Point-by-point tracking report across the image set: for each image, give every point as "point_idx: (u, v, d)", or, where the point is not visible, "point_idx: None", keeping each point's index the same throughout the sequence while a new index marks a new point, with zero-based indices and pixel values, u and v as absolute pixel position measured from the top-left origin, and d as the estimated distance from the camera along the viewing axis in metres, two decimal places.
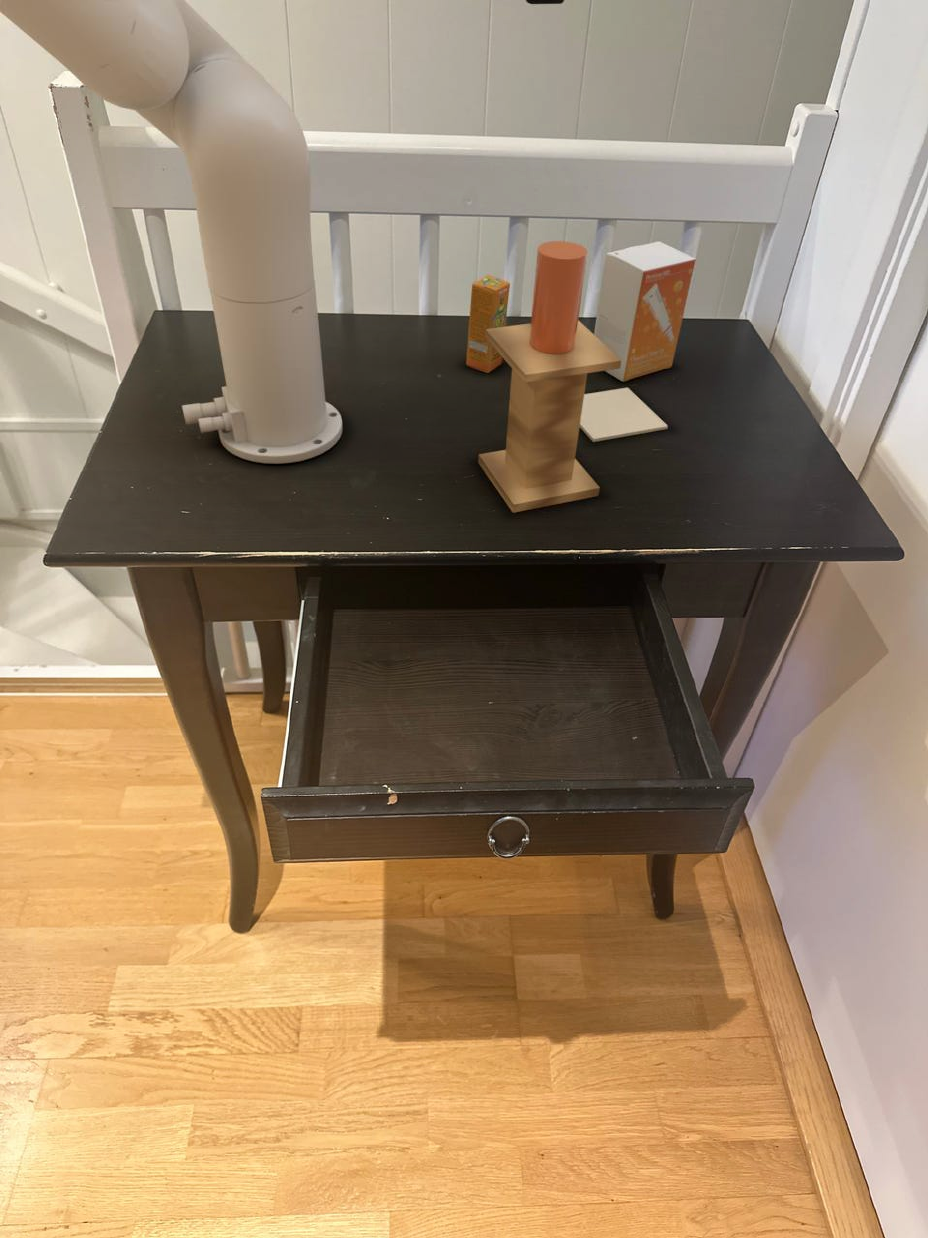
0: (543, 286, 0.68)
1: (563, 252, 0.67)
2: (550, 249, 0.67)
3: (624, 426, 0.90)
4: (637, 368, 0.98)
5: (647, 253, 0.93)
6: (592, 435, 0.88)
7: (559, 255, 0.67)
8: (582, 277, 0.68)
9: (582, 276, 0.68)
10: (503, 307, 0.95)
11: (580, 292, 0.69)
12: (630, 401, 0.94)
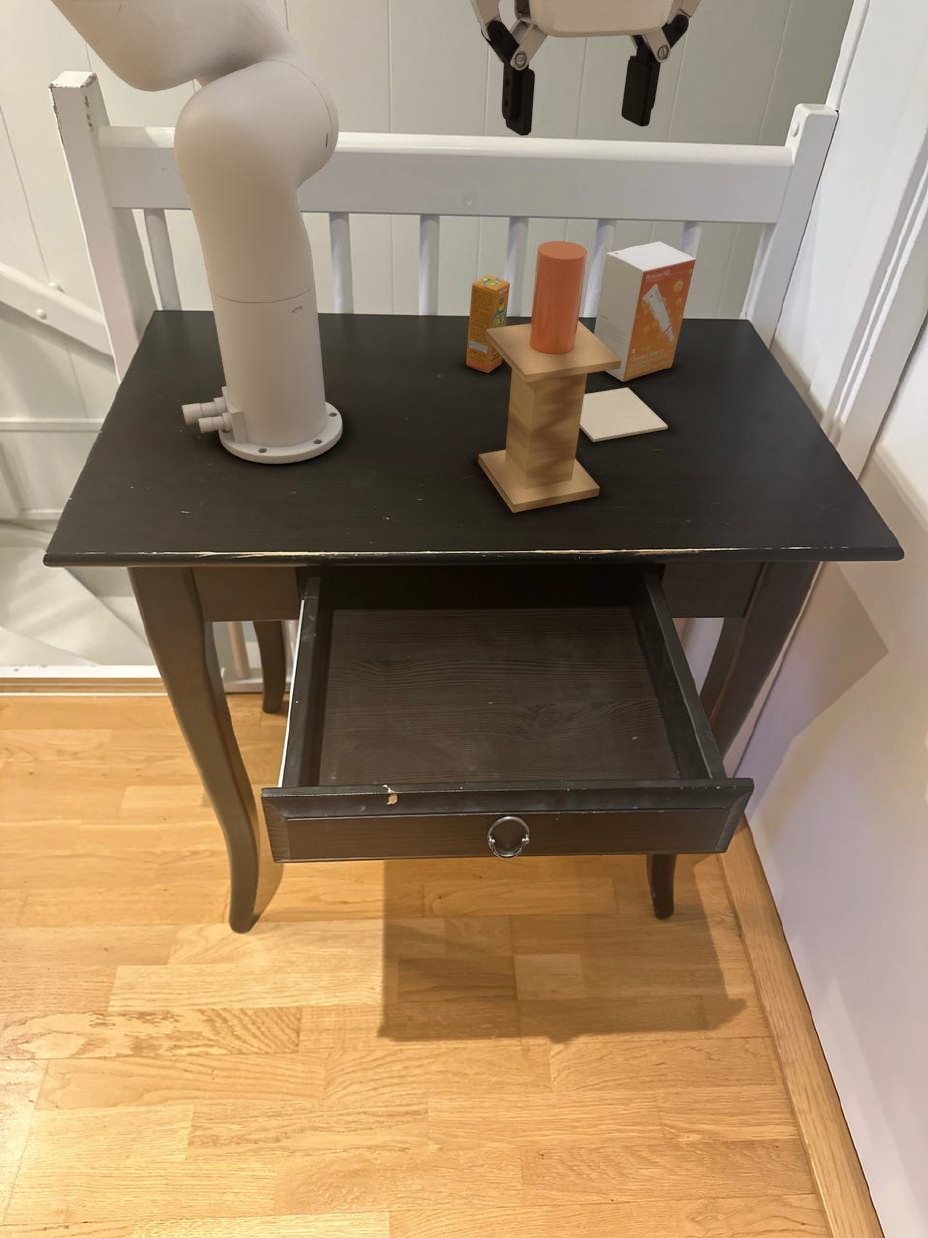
0: (543, 286, 0.68)
1: (563, 252, 0.67)
2: (550, 249, 0.67)
3: (624, 426, 0.90)
4: (637, 368, 0.98)
5: (647, 253, 0.93)
6: (592, 435, 0.88)
7: (559, 255, 0.67)
8: (582, 277, 0.68)
9: (582, 276, 0.68)
10: (503, 307, 0.95)
11: (580, 292, 0.69)
12: (630, 401, 0.94)
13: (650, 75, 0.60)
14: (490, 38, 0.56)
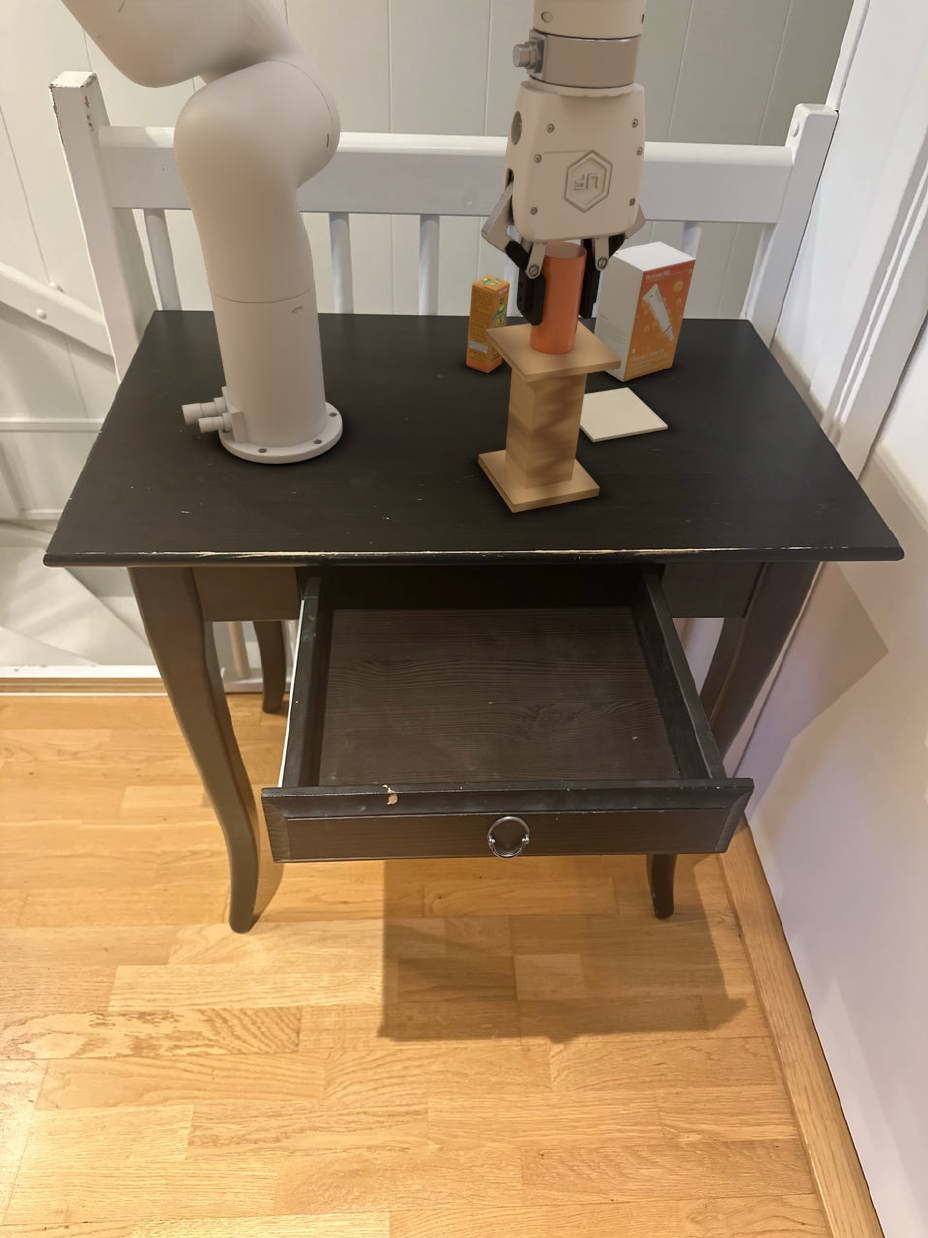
0: None
1: (563, 252, 0.67)
2: (550, 249, 0.67)
3: (624, 426, 0.90)
4: (637, 368, 0.98)
5: (647, 253, 0.93)
6: (592, 435, 0.88)
7: (560, 255, 0.67)
8: (582, 277, 0.68)
9: (582, 276, 0.68)
10: (503, 307, 0.95)
11: (580, 292, 0.69)
12: (630, 401, 0.94)
13: (591, 281, 0.69)
14: (511, 257, 0.66)
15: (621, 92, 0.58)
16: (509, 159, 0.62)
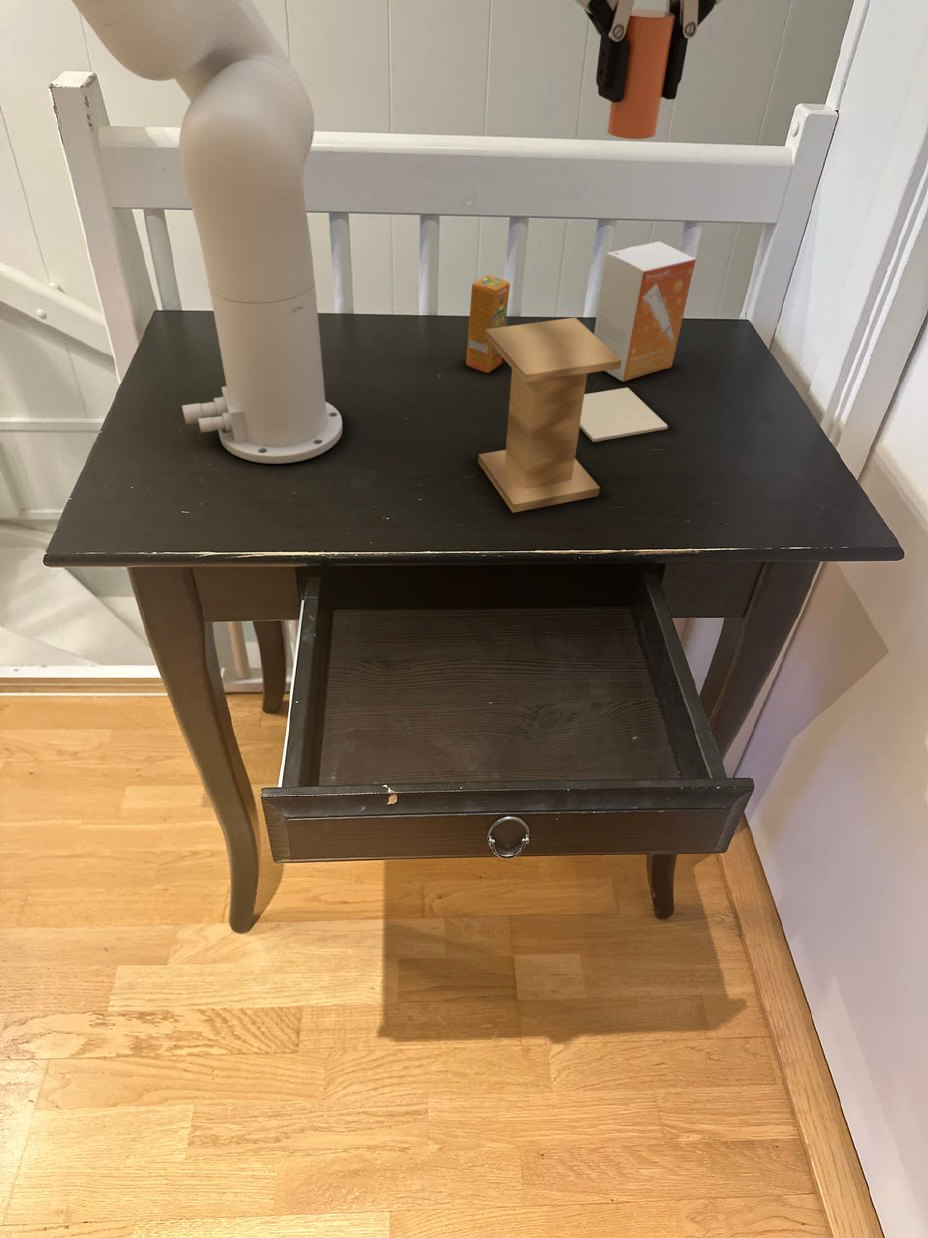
0: None
1: (649, 14, 0.63)
2: (635, 12, 0.63)
3: (624, 426, 0.90)
4: (637, 368, 0.98)
5: (647, 253, 0.93)
6: (592, 435, 0.88)
7: (646, 15, 0.62)
8: (668, 45, 0.64)
9: (668, 43, 0.64)
10: (503, 307, 0.95)
11: (665, 64, 0.65)
12: (630, 401, 0.94)
13: (678, 51, 0.64)
14: (594, 14, 0.62)
15: None
16: None
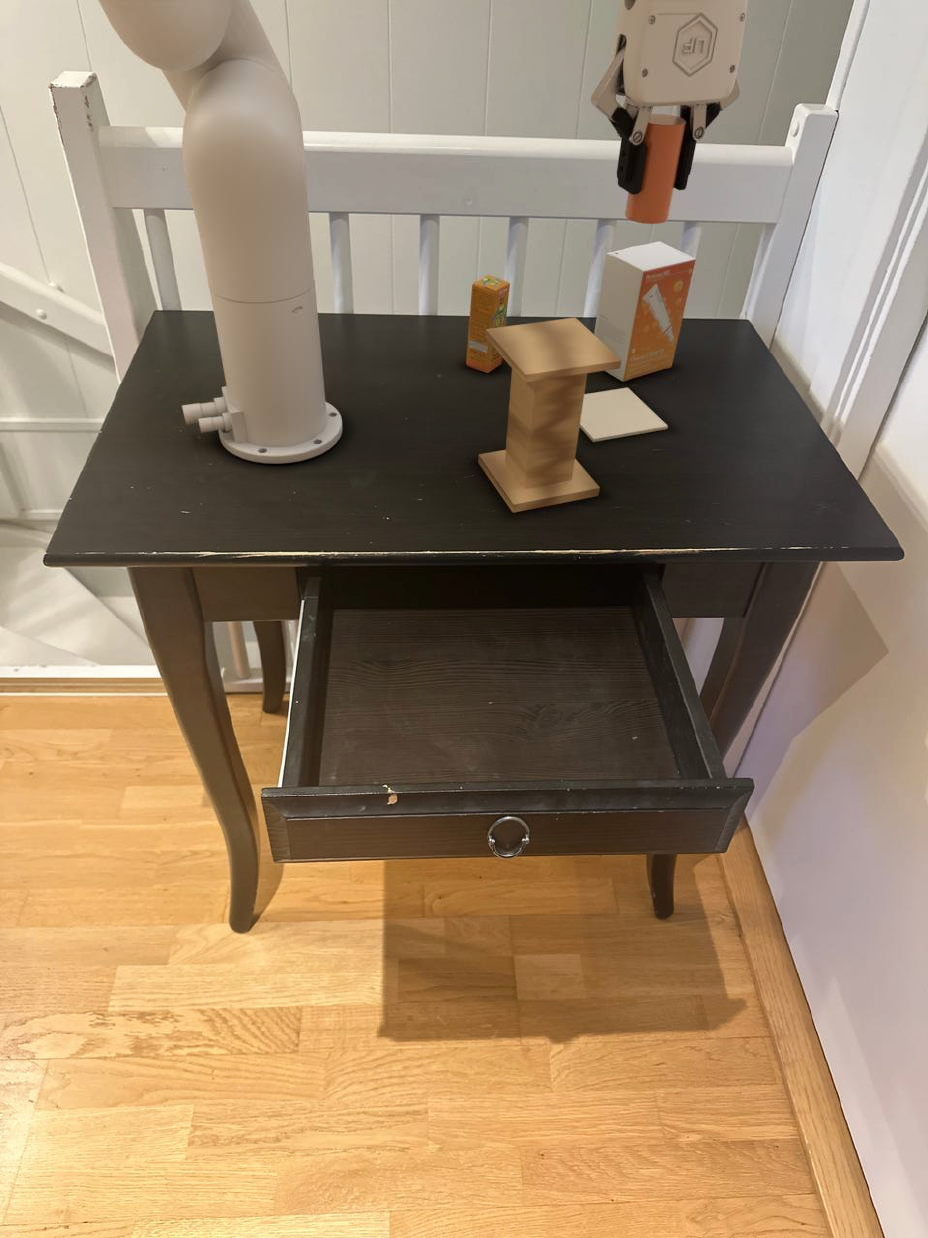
0: None
1: (664, 121, 0.72)
2: (652, 119, 0.73)
3: (624, 426, 0.90)
4: (637, 368, 0.98)
5: (647, 253, 0.93)
6: (592, 435, 0.88)
7: (662, 122, 0.72)
8: (680, 146, 0.73)
9: (680, 145, 0.73)
10: (503, 307, 0.95)
11: (677, 161, 0.74)
12: (630, 401, 0.94)
13: (688, 151, 0.74)
14: (617, 123, 0.71)
15: None
16: (622, 25, 0.67)
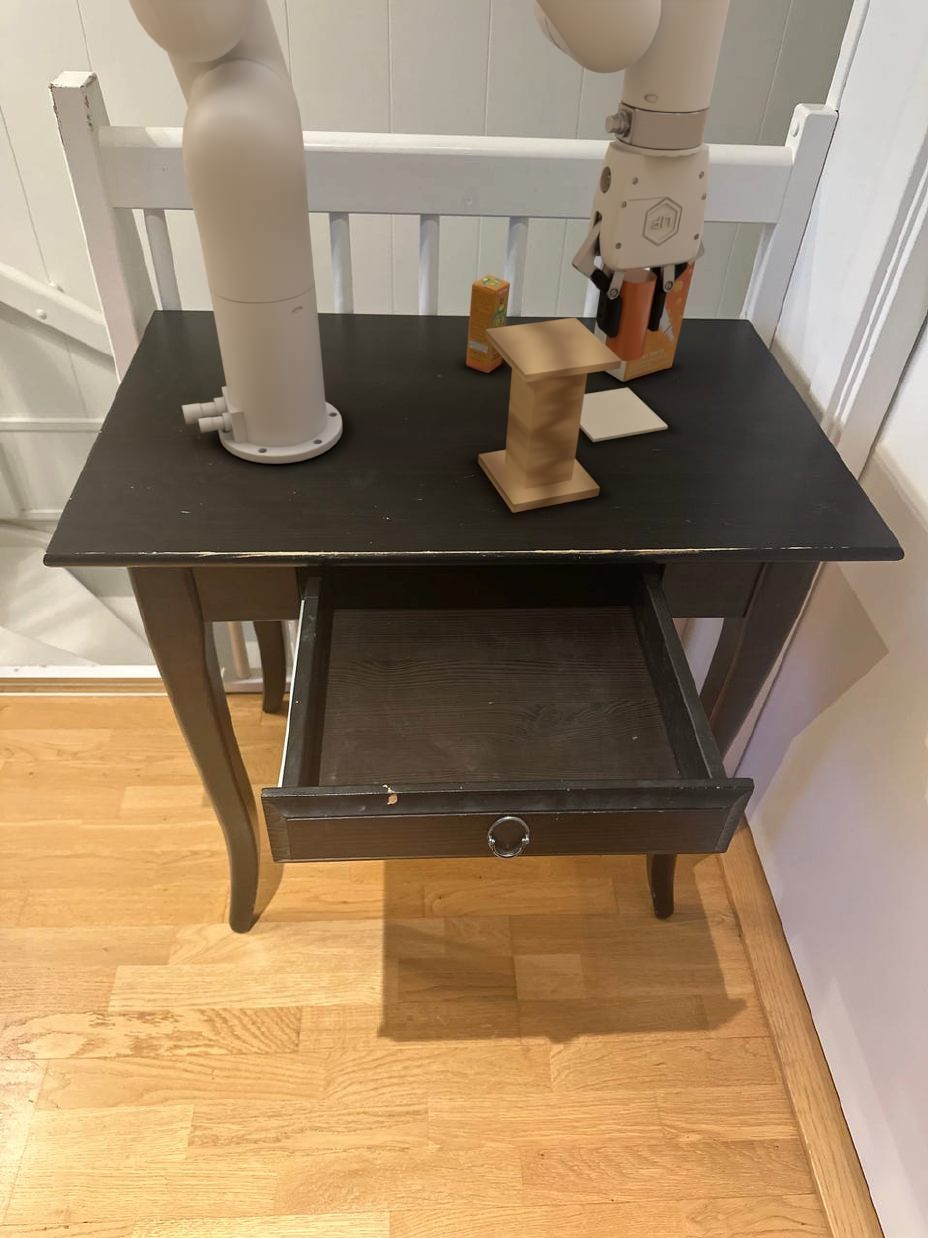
0: None
1: (637, 277, 0.81)
2: (626, 275, 0.82)
3: (624, 426, 0.90)
4: (637, 368, 0.98)
5: None
6: (592, 435, 0.88)
7: (635, 279, 0.81)
8: (652, 297, 0.83)
9: (652, 297, 0.82)
10: (503, 307, 0.95)
11: (650, 310, 0.83)
12: (630, 401, 0.94)
13: (659, 301, 0.83)
14: (595, 282, 0.80)
15: (692, 152, 0.72)
16: (598, 204, 0.76)
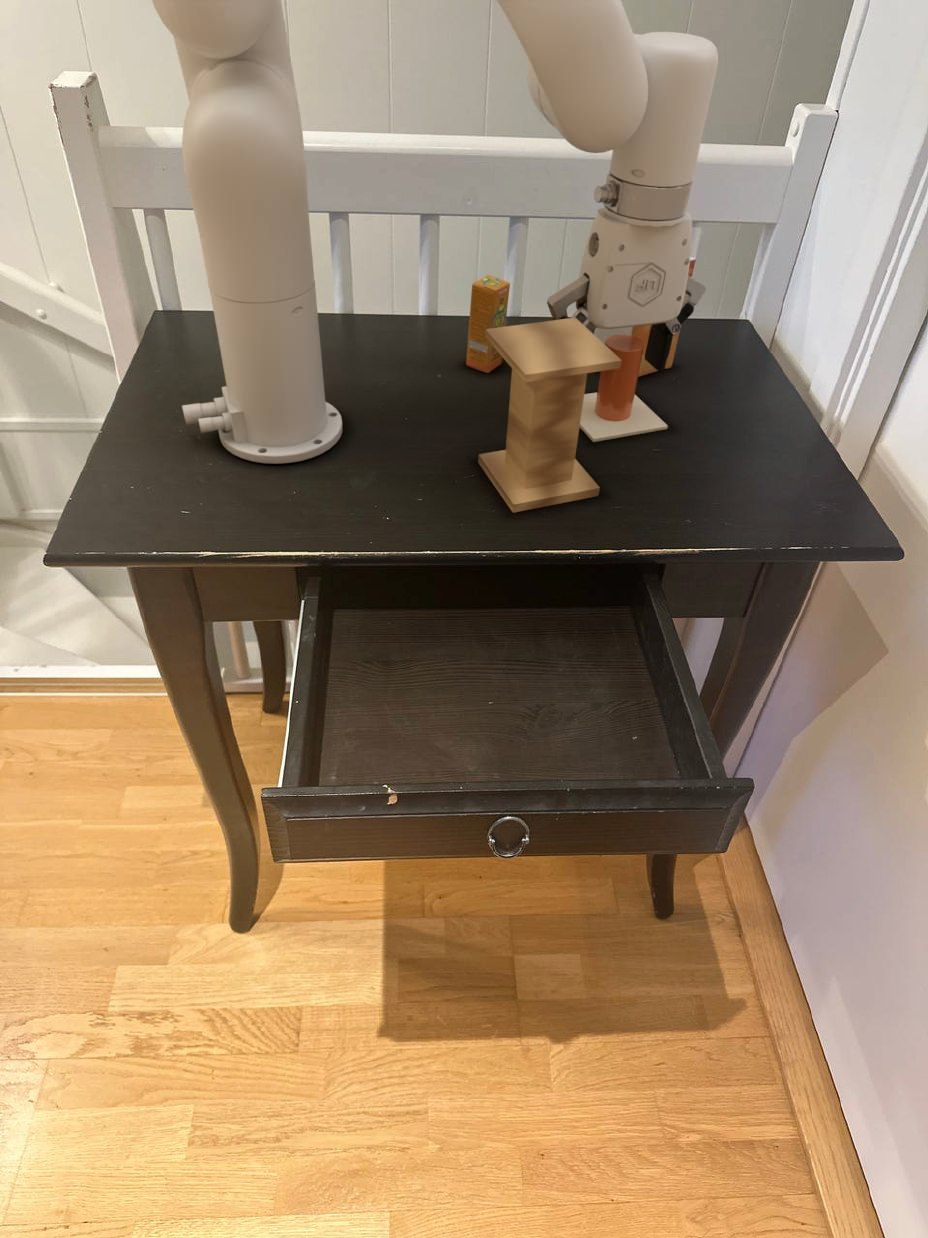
0: (609, 370, 0.87)
1: (625, 345, 0.86)
2: (615, 343, 0.86)
3: (624, 426, 0.90)
4: None
5: None
6: (592, 435, 0.88)
7: (623, 347, 0.86)
8: (639, 363, 0.87)
9: (639, 363, 0.87)
10: (503, 307, 0.95)
11: (637, 374, 0.88)
12: None
13: (666, 342, 0.87)
14: None
15: (676, 222, 0.76)
16: (586, 266, 0.80)
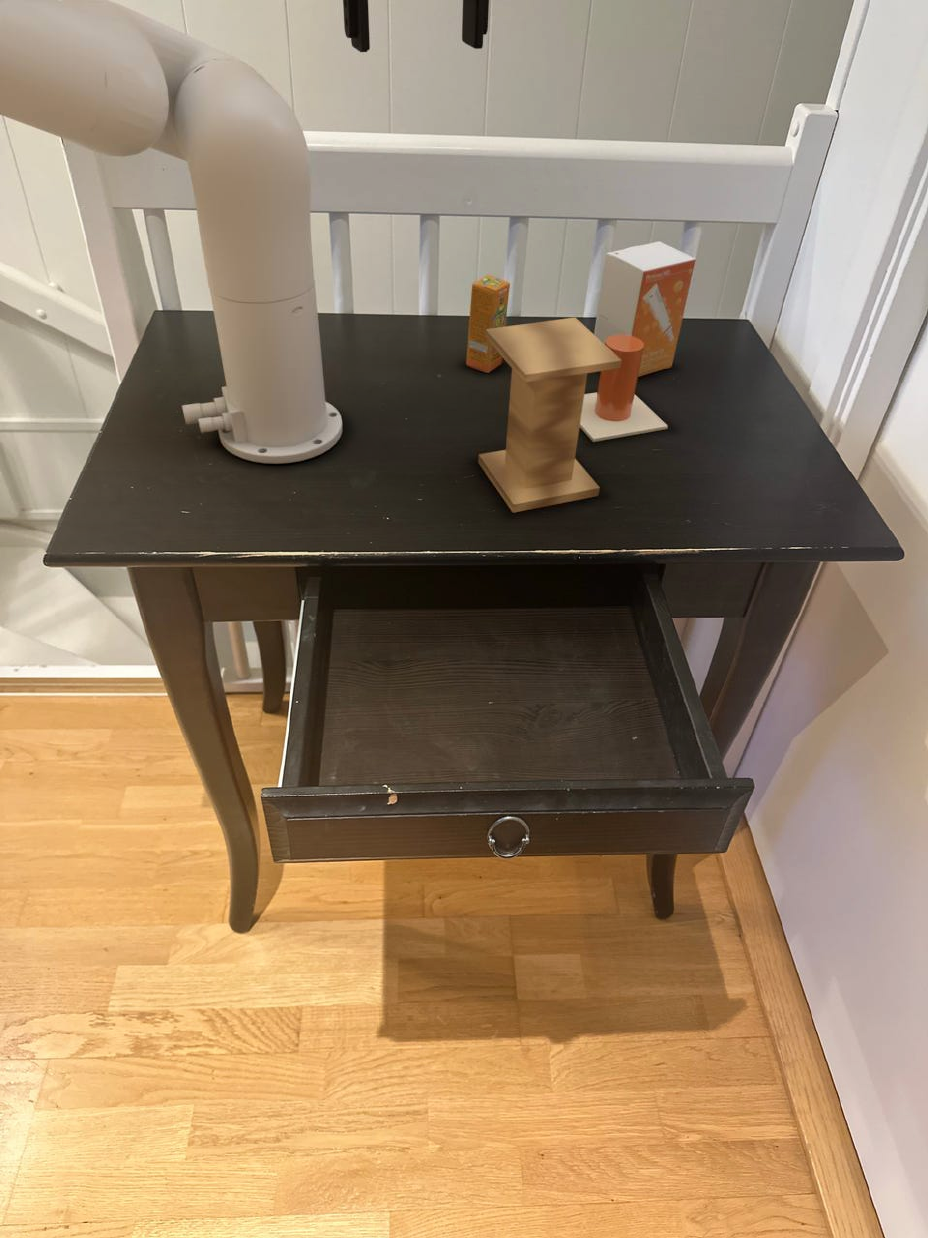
0: (609, 370, 0.87)
1: (625, 345, 0.86)
2: (615, 343, 0.86)
3: (624, 426, 0.90)
4: None
5: (647, 253, 0.93)
6: (592, 435, 0.88)
7: (623, 347, 0.86)
8: (639, 363, 0.87)
9: (639, 363, 0.87)
10: (503, 307, 0.95)
11: (637, 374, 0.88)
12: None
13: (478, 0, 0.67)
14: None
15: None
16: None
